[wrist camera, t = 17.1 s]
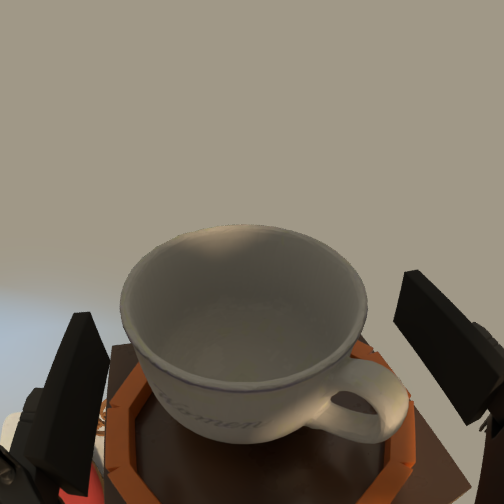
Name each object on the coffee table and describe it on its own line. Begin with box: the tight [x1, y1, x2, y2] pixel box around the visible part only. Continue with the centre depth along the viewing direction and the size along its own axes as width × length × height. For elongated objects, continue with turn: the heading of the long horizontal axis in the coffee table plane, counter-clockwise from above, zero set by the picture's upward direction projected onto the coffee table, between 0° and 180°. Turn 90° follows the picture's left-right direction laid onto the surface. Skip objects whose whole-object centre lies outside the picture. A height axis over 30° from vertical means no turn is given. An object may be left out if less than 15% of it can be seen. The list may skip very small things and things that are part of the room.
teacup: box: [120, 224, 409, 444], centre depth 15 cm, size 14×11×8 cm
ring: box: [105, 340, 416, 504], centre depth 16 cm, size 17×17×1 cm
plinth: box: [104, 334, 471, 504], centre depth 21 cm, size 18×18×22 cm
